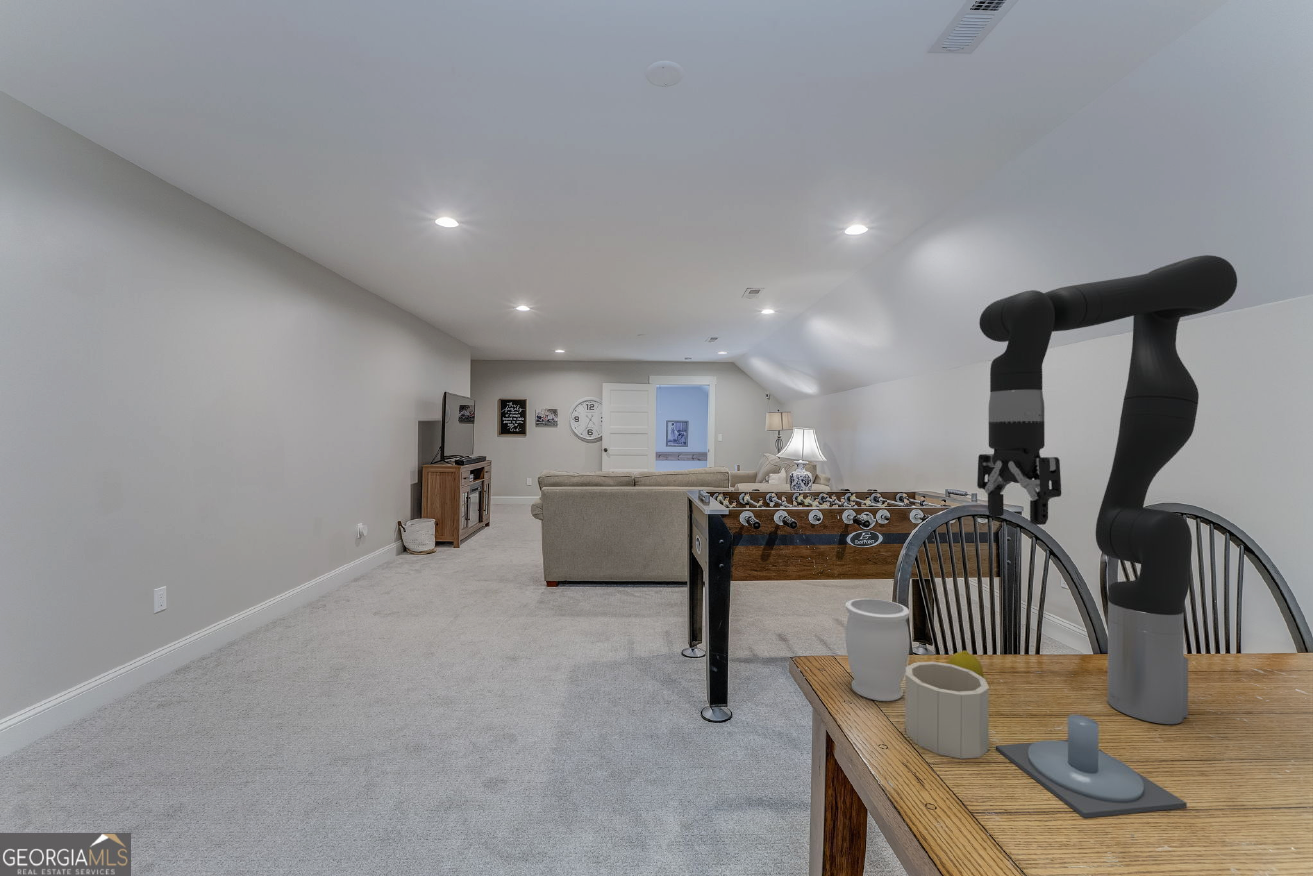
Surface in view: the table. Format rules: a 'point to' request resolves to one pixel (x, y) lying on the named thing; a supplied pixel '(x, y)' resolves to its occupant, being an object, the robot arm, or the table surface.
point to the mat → (1090, 807)
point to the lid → (1085, 765)
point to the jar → (877, 647)
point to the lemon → (967, 662)
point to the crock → (947, 709)
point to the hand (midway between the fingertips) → (1016, 520)
